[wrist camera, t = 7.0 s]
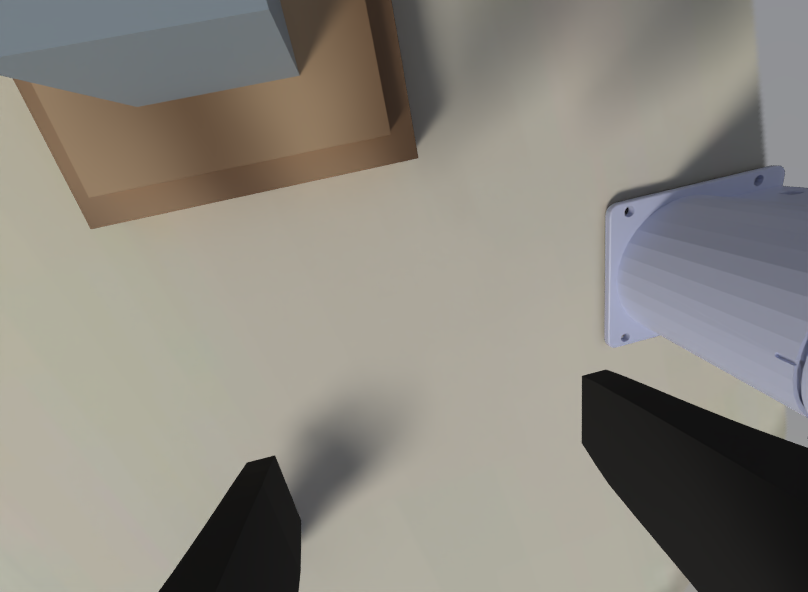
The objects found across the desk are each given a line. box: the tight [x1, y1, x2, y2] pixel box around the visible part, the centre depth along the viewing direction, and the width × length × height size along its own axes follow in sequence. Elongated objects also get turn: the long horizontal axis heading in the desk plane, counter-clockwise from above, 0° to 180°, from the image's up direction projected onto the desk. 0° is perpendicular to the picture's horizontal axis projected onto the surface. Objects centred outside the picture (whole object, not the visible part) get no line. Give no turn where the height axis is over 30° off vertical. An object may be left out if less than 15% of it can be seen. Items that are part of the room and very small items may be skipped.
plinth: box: [13, 0, 418, 229], centre depth 12 cm, size 12×12×3 cm
